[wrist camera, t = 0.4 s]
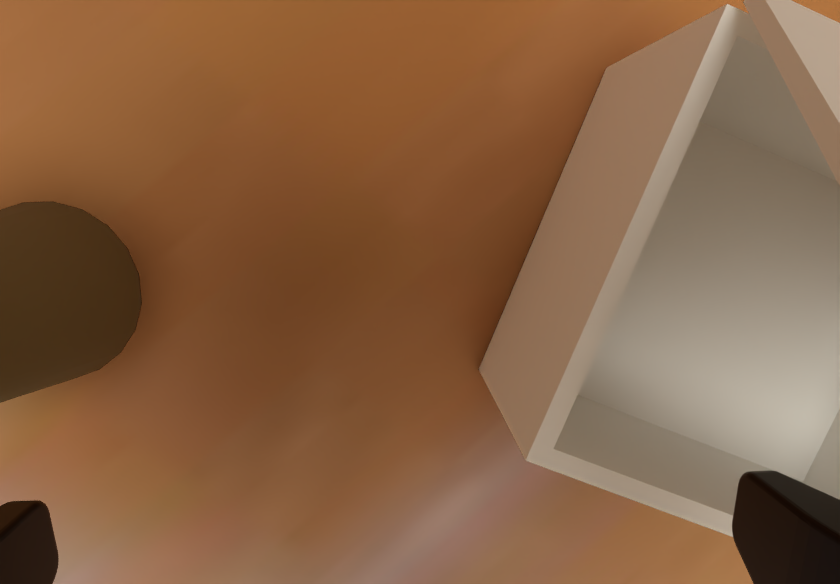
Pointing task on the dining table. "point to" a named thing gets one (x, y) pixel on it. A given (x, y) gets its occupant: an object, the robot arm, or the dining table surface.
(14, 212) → the cork
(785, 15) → the carton flap
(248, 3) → the dining table surface
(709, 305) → the carton
